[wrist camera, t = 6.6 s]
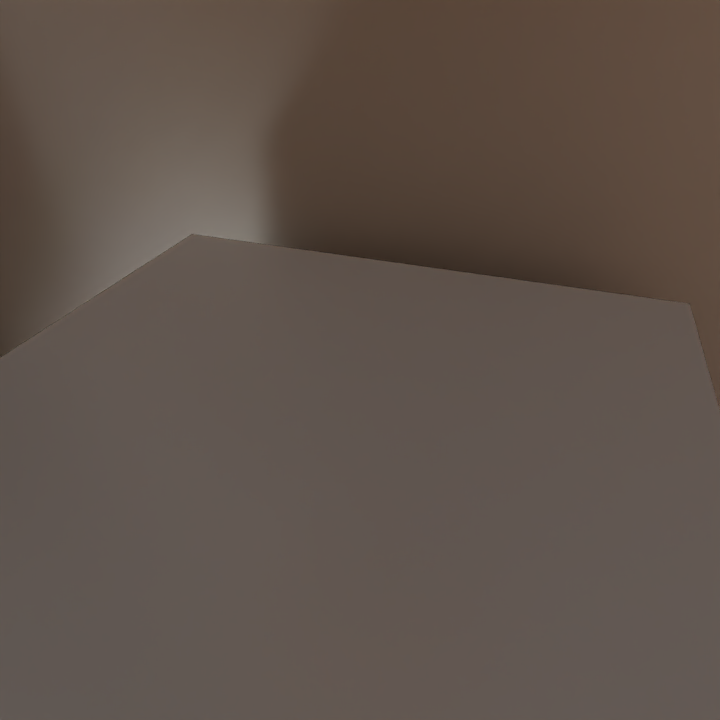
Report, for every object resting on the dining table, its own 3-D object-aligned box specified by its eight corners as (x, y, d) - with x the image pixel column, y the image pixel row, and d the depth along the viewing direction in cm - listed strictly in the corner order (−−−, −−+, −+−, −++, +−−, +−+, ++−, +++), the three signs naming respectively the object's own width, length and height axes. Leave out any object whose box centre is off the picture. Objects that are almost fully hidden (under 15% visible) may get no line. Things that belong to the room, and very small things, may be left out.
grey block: (233, 550, 15) (-113, 1102, 7) (191, 234, 10) (-661, 784, 3) (577, 645, 13) (553, 1514, 6) (689, 303, 9) (1161, 1949, 1)
